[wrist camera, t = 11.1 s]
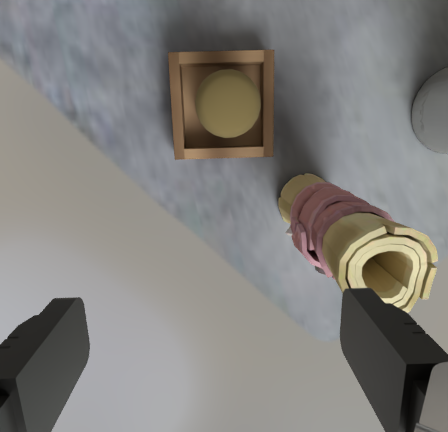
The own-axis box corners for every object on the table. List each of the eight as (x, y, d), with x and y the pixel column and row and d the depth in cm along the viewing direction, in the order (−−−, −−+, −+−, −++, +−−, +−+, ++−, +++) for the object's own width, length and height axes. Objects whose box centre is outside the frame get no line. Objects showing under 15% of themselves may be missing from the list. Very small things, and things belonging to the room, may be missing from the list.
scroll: (262, 227, 42) (302, 322, 23) (280, 165, 40) (340, 210, 21) (324, 241, 43) (414, 345, 23) (344, 181, 41) (460, 238, 21)
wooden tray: (269, 55, 37) (274, 49, 34) (268, 153, 40) (273, 156, 36) (172, 57, 37) (167, 52, 34) (178, 156, 39) (174, 159, 36)
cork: (222, 63, 36) (225, 41, 26) (265, 105, 37) (285, 100, 27) (184, 110, 37) (171, 107, 27) (227, 148, 39) (231, 160, 28)
